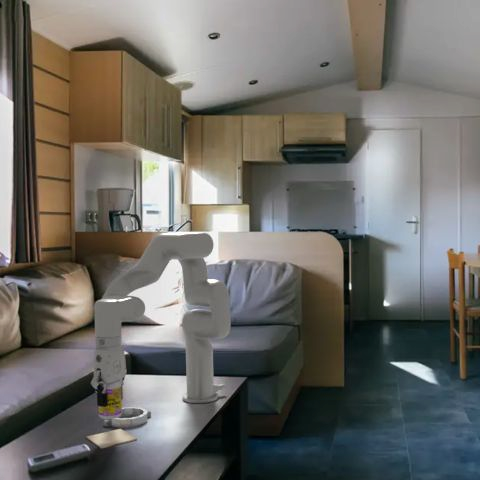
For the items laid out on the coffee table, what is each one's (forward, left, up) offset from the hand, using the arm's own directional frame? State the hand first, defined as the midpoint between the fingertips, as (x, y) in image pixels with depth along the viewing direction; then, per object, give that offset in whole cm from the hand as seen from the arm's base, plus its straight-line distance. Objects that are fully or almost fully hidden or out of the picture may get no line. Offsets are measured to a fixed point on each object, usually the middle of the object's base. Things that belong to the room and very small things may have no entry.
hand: (110, 402), depth 186 cm
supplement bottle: (0, 0, -4) cm, 4 cm away
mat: (0, 0, -11) cm, 11 cm away
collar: (-11, -12, -11) cm, 20 cm away
